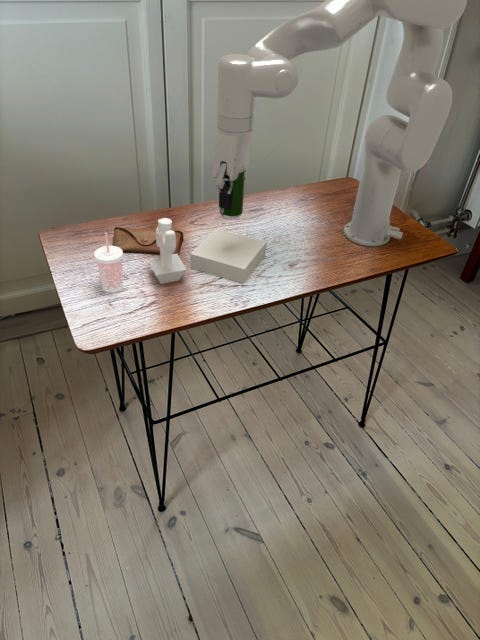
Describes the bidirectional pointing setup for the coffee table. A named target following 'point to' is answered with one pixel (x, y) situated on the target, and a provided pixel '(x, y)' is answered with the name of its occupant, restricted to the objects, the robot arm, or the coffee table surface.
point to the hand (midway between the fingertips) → (231, 202)
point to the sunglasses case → (141, 241)
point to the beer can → (236, 196)
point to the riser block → (228, 255)
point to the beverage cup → (110, 266)
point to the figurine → (166, 254)
